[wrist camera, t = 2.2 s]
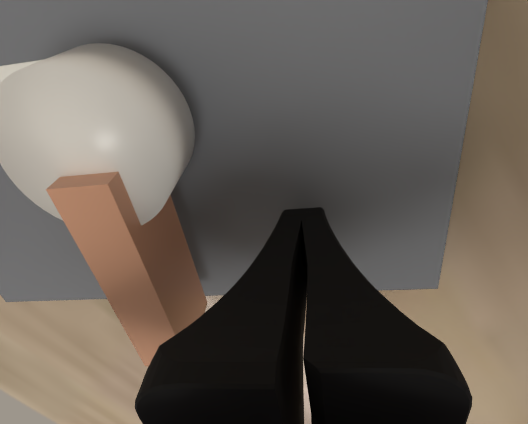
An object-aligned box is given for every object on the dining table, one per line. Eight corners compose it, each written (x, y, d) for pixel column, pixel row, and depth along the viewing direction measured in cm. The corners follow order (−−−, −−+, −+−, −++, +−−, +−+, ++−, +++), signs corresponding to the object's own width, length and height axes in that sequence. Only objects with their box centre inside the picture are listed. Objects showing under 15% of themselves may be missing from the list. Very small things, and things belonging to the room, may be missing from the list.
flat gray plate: (539, -466, 6) (634, -642, 4) (429, 267, 16) (445, 307, 14) (-320, -183, 9) (-469, -217, 8) (21, 284, 19) (-9, 318, 17)
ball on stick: (169, 31, 9) (123, 56, 7) (241, 301, 14) (228, 366, 12) (13, 55, 10) (-78, 85, 7) (138, 304, 15) (108, 366, 13)
